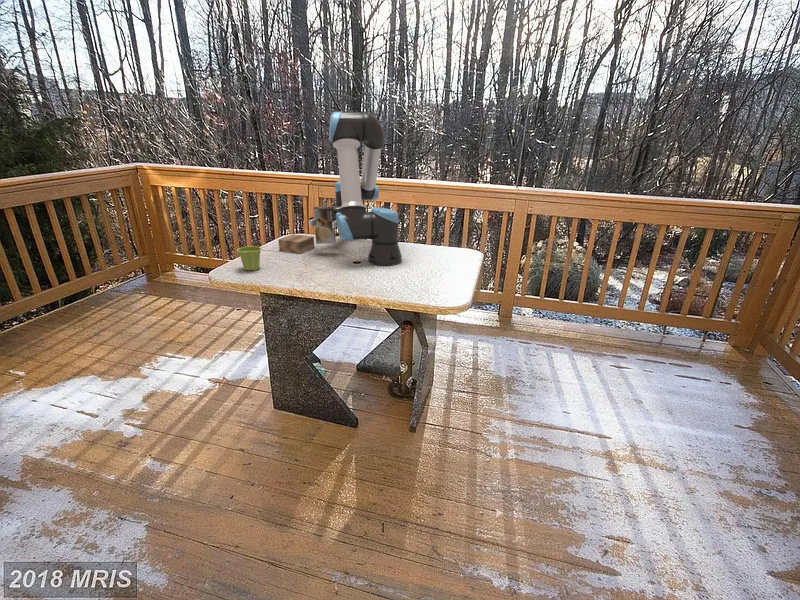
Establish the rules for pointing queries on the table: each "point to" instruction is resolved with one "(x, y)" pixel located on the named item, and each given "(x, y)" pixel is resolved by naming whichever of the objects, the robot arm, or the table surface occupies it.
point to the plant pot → (250, 257)
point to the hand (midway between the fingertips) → (321, 224)
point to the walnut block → (296, 244)
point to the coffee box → (324, 225)
